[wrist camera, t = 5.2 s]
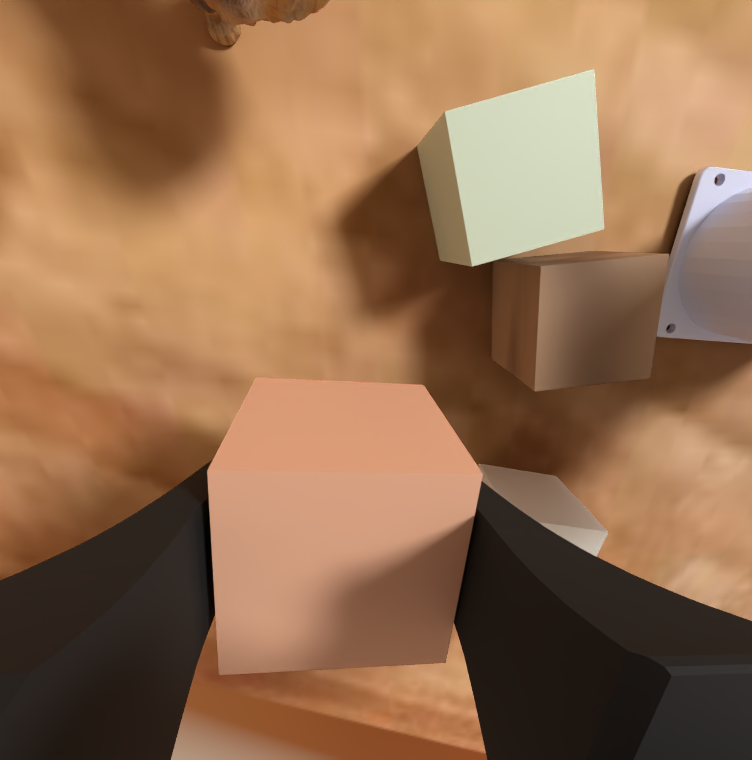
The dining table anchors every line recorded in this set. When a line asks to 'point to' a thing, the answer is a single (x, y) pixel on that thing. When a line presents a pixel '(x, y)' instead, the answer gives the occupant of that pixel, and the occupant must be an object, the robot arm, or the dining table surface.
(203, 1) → the lion figurine
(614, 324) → the walnut block
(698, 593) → the dining table surface
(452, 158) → the sage block
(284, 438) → the terracotta block
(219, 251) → the dining table surface
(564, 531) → the pale grey block
